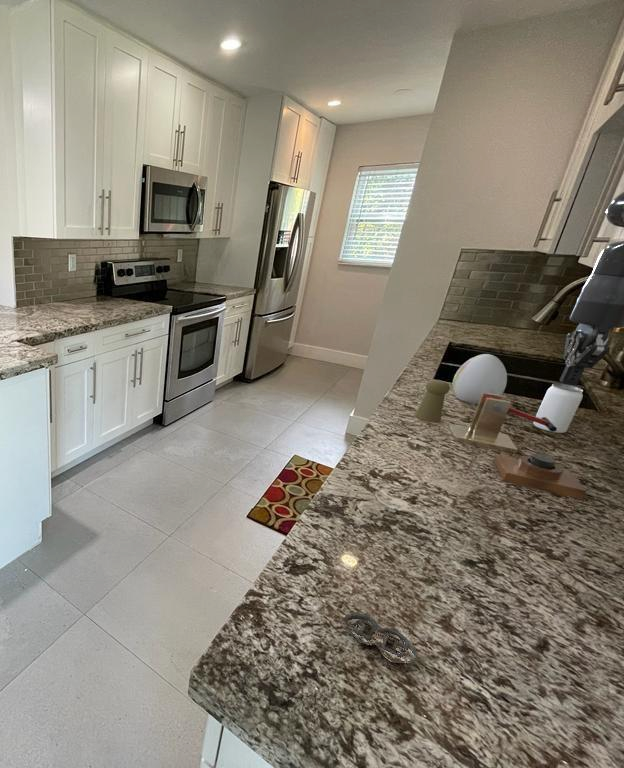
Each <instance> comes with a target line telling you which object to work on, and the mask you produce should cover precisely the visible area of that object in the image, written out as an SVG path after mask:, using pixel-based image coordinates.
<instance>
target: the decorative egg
mask: <svg viewBox="0 0 624 768" xmlns="http://www.w3.org/2000/svg"><path fill="white" fill-rule="evenodd" d="M507 383H508V374H507V369H506V367H505V365H504V363H503V362H502V361H501V359H499V358H498V357H497V356H495V355H493V354H490V353H483V354H478V355H476V356H474V357H471V358H469V359H468V360H466V361H465V362H464V363H463V364H462V365H461V366H460V367H459V368H458V369H457V370H456V373H455V374H454V375H453V379H452V392H453V394H454V396H455V397H456V399H458V400H460V401H462V402H464V403H468V404H472V405H477V406H478V403H479V401H480V398H481V395H482V393H483V392H485V393H491V394H497V395H503V394H504V392H505V389H506V388H507Z"/></svg>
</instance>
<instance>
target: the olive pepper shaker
mask: <svg viewBox="0 0 624 768" xmlns="http://www.w3.org/2000/svg"><path fill="white" fill-rule="evenodd" d="M450 386H451V385H450V384H449V383H448V382H446V381H444V380H439V379H429V380H428V381H427V383H426V384H425V390H426V391H425V394H424V395H423V397H422V400H421V401H420V404H419V405H418V407H417V409H416V411H415V413H414V416H415V417H416V418H418V419H420V420H421V421H426V422H430V423H440V422H441V421H442V415H443V409H444V404H445V403H444V402H445V397H446V395H447V394H448V393H449V392H450V390H451V387H450Z"/></svg>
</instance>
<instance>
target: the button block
mask: <svg viewBox="0 0 624 768" xmlns="http://www.w3.org/2000/svg"><path fill="white" fill-rule="evenodd" d="M531 456H532V455H521V456H520V457H518V458H517V457H512V456H507V455H502V454H497V453H495V455H494V457H493V460H492V464H493V466H494V468H495V469H496V471H497V474H498V475H499V477H500V478H501V480H502V482H505V483H509V484H514V485H517V486H521V487H524V488H530V489H535V490H539V491H543V492H546V493H547V492H548V493H552V494H555V495H558V496H559V495H560V496H564V497H569V498H573V499H577V500H581V501H582V500H583V498H584V496H586V495H585V494H586V493H587V490H586V488H585V487H584V486H583V485H582V484H581V482H579V480H578V479H577V478H576V477H575V475H573V473H572V472H571V471H570V469H568V468H563V467H562V466H560V464H557V463H555V465H554V467H553V469H545V468H541V467H538V466H535V465H533V464H531V463H529V460H530V458H531Z"/></svg>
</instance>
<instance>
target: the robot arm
mask: <svg viewBox="0 0 624 768" xmlns="http://www.w3.org/2000/svg"><path fill="white" fill-rule="evenodd" d="M605 215H606V219H607V221H608V222H609V223H610V224H611V225H613V226H615V227H619V228H624V191H623V192H621V193H620V194H618V195H617V196H616V197H615V198H613V200H611V202H610V203H609V204H608V206H607V209H606V211H605ZM569 320H570V321H571V322H573V323H577V324H578V325H577V327H576V328H575V330H574V331H572V333H568V334H567V335H566V337H565V346H564V353H563V360H565V367H564V369H563V372H562V374H561V376H560V378H559V382H560V383H561V384H565V385H570V386H574V387H575V386H576V385H578V383H579V381H580V378H581V377H582V375H583V373H584V370H587V369H592V368H593V367H595V366H596V365H597V364H598V363H599V362H600V361H601V360H602V359H603V358H604V357H606V355H607V354H609V352H610V351H611V347H610V346H605V345H607V343H608V341H609V339H610V337H609V336H610V332H611V330H612V329H614V328H616V329H620V328H621V329H622V328H624V240H621V241H615V242H610V243H608V244H607V245H606V246H604V247H603V249H602V251H601V252H600V254H599V255H598V258H597V260H596V263H595V265H594V267H593V270H592V272H591V273H590V275H589V277H588V279H587V280H586V282H585V284H584V285H583V287H582V288H581V291H580V294H579V295H578V298H577V300H576V302H575V306H574V307H573V309H572V311H571V314H570V316H569Z"/></svg>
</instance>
